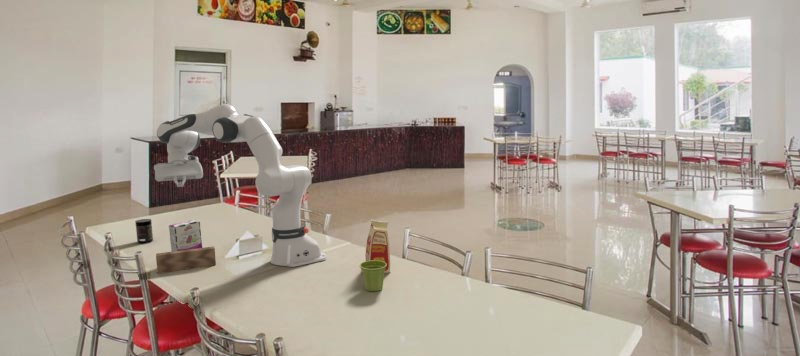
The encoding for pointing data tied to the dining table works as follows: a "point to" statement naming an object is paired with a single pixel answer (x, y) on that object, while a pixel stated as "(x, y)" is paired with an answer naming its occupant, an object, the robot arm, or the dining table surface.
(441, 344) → the dining table surface
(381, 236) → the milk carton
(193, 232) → the candy bar box
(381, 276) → the plant pot
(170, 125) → the robot arm
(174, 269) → the walnut board
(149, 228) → the supplement container
